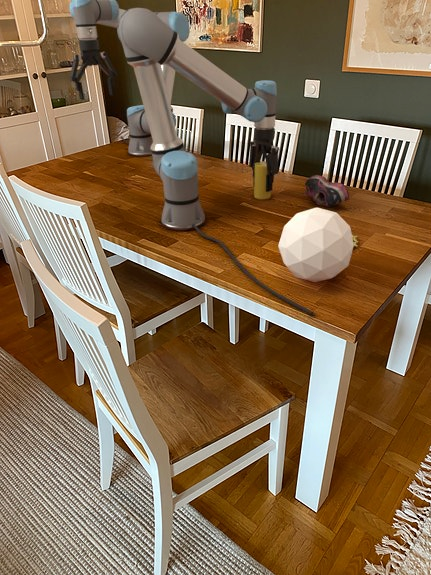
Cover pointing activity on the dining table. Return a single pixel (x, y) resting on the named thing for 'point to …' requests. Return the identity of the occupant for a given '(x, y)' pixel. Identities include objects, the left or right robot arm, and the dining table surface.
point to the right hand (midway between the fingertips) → (262, 188)
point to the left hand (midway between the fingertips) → (97, 97)
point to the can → (261, 181)
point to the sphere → (316, 244)
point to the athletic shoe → (326, 191)
